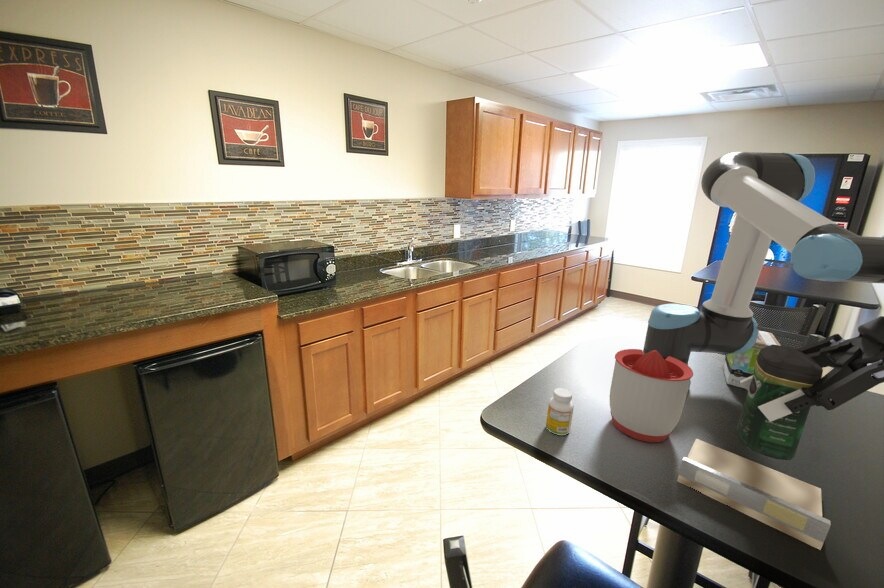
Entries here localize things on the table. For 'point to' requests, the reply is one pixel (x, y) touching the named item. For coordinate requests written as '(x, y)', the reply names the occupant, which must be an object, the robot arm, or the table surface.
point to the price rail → (756, 499)
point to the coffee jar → (772, 380)
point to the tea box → (746, 360)
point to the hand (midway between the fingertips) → (753, 400)
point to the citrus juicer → (648, 394)
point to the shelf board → (757, 486)
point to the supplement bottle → (560, 412)
